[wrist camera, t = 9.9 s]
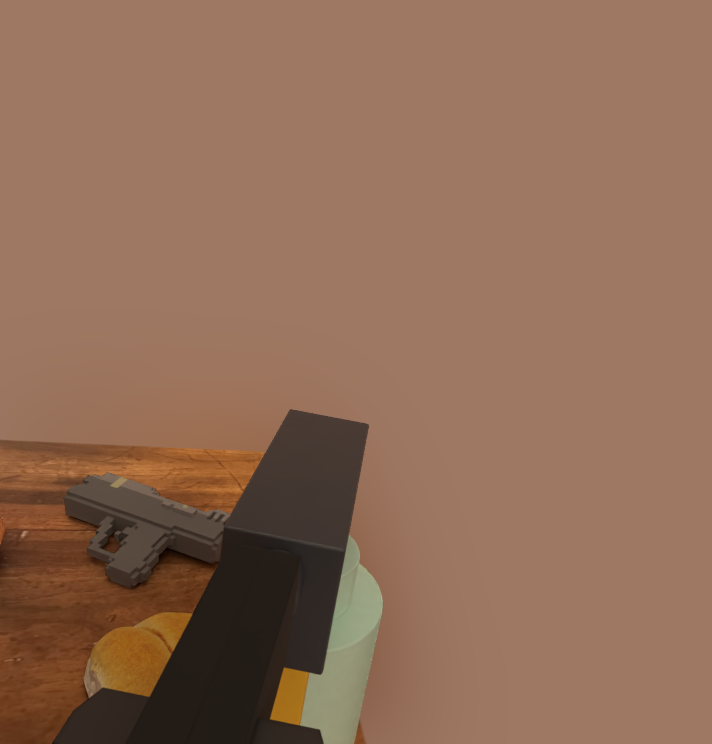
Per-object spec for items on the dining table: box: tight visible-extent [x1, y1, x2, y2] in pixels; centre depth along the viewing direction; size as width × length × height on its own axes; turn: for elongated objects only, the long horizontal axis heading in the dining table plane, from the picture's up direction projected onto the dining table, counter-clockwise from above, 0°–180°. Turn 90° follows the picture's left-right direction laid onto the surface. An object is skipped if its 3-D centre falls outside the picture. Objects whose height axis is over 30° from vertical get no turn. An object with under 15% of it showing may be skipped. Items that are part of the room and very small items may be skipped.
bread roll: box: [84, 612, 192, 698], centre depth 41 cm, size 8×9×4 cm
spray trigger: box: [270, 668, 309, 725], centre depth 19 cm, size 1×2×8 cm, turn 85°
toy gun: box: [64, 472, 231, 588], centre depth 54 cm, size 4×16×10 cm
